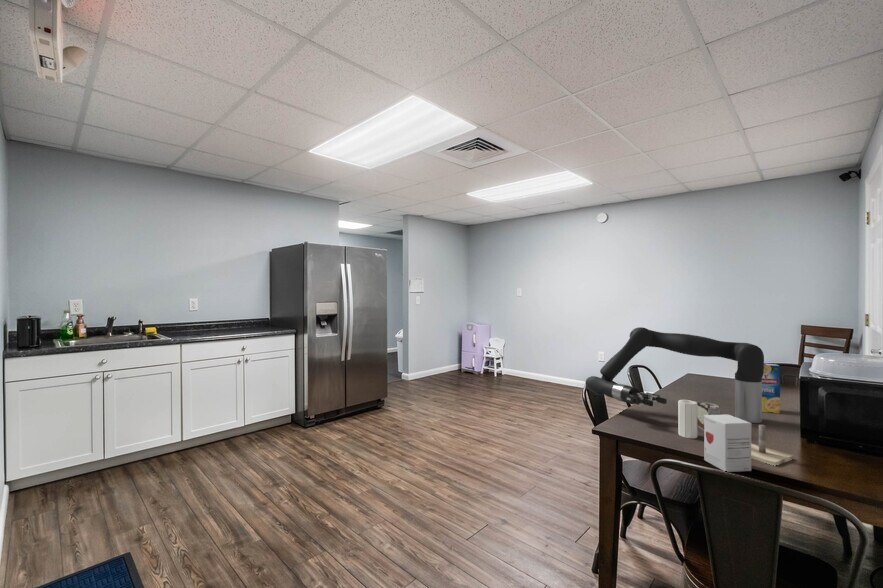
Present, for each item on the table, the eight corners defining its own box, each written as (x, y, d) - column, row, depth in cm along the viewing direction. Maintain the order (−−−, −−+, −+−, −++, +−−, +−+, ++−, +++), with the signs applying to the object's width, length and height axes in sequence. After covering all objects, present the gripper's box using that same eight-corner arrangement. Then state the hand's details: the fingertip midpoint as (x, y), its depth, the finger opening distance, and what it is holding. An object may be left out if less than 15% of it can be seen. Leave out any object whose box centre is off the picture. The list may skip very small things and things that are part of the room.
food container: (727, 435, 150) (726, 409, 150) (709, 434, 152) (709, 408, 152) (711, 425, 162) (711, 401, 163) (695, 424, 164) (695, 400, 164)
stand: (751, 446, 139) (751, 418, 139) (793, 459, 128) (793, 428, 128) (732, 452, 134) (732, 422, 134) (774, 466, 123) (774, 433, 123)
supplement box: (702, 460, 128) (702, 414, 128) (728, 459, 128) (728, 413, 129) (725, 472, 119) (725, 423, 119) (752, 471, 119) (752, 422, 119)
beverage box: (780, 413, 179) (780, 365, 179) (751, 411, 183) (751, 364, 183) (773, 409, 186) (773, 363, 186) (745, 407, 189) (745, 362, 189)
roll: (684, 431, 154) (684, 399, 155) (700, 436, 149) (700, 402, 149) (675, 434, 152) (674, 400, 152) (691, 439, 146) (691, 404, 146)
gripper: (614, 386, 172) (648, 395, 157) (636, 383, 178) (670, 391, 164) (614, 403, 172) (648, 413, 157) (635, 400, 178) (670, 409, 164)
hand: (659, 402), depth 160 cm, fingers open, 8 cm apart
